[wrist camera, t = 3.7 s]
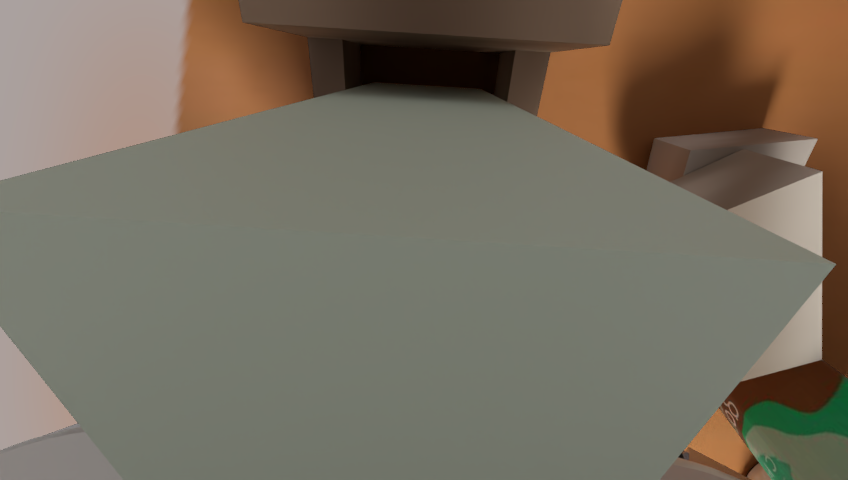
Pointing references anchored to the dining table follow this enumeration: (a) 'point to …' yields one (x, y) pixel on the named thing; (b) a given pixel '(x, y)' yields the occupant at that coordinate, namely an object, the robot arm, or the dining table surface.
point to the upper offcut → (780, 214)
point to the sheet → (387, 296)
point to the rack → (440, 34)
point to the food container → (794, 421)
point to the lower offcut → (723, 149)
